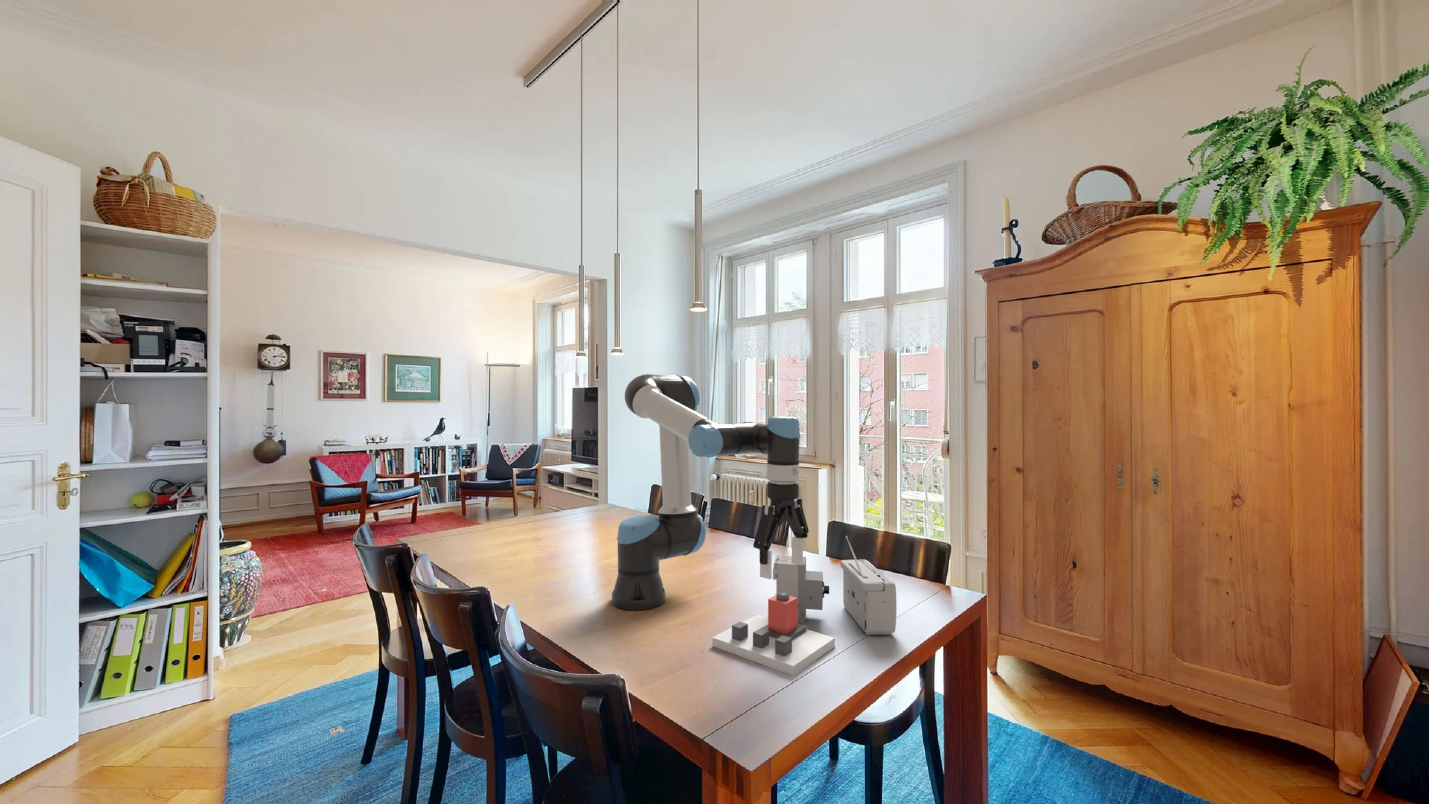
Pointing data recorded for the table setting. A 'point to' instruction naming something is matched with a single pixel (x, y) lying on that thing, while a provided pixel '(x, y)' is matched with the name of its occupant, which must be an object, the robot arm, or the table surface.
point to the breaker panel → (774, 644)
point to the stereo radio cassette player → (869, 596)
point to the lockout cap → (782, 612)
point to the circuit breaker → (799, 585)
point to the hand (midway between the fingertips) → (782, 570)
